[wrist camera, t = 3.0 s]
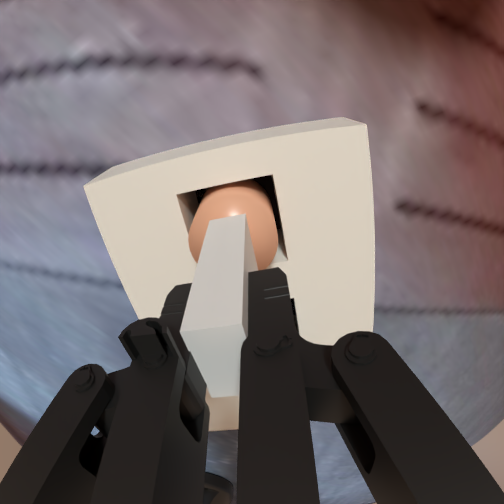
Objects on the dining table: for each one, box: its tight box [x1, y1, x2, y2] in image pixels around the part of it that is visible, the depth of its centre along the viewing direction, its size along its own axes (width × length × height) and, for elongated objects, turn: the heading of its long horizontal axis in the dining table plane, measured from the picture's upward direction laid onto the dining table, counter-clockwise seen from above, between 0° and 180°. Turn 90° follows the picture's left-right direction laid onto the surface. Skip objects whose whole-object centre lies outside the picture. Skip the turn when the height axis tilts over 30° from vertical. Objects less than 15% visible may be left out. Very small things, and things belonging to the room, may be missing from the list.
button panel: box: [83, 117, 375, 431], centre depth 21 cm, size 22×14×4 cm, turn 11°
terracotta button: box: [188, 179, 278, 270], centre depth 16 cm, size 4×4×4 cm
